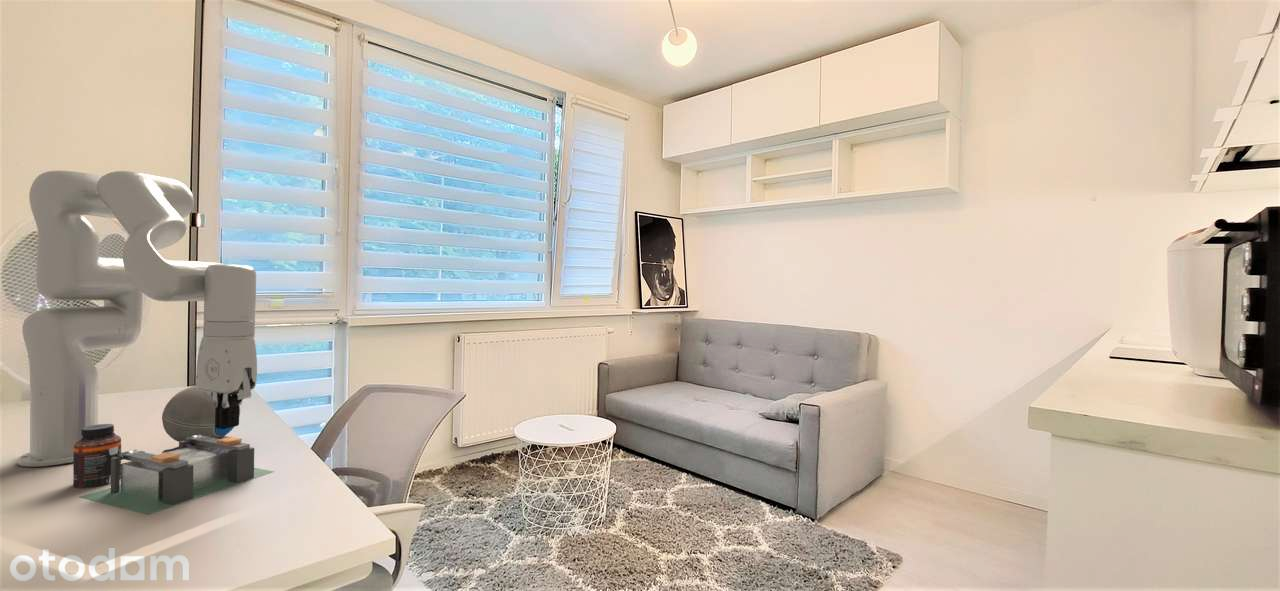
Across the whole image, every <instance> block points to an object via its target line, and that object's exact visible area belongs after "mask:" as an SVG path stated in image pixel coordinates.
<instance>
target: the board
mask: <svg viewBox="0 0 1280 591" xmlns="http://www.w3.org/2000/svg"><path fill="white" fill-rule="evenodd" d="M205 437H207V436H205ZM178 446H179V449H182V448H186V447H187V441H179V442H178ZM139 452H144V453H146V452H145V451H144V450H139ZM274 472H275V471H274V470H268V469H263V468H260V467H259V468H257V467H255V447H250V448H249V449H246V450H242V451H233V450H230V451H228V479H226V480H223V481H220V482H217V483H214V484H211V485H208V486H205V487H202V488H199V489H196V490H193V465H190V464H188V466H185V467H182V468H178V469H175V470H173V469H168V468H165V469H163V500H162V501H159V502H158V501H153V500H149V499H145V498H141V497H137V496H133V495H128V494H124V493H121V479H120V458H119V457H113V458H111V484H110V487H109V488H106V489H101V490H98V491H95V492H91V493H87V494H84V495H80V496H79V498H81V499H84V500H89V501H93V502H97V503H100V504H104V505H108V506H112V507H116V508H120V509H124V510H129V511H131V512H136V513H140V514H143V515H151V514H153V513H156V512H160V511H162V510H167V509H170V508H172V507H174V506H177V505H181V504H183V503H187V502H190V501H192V500H195V499H198V498H202V497H205V496H207V495H210V494H213V493H216V492H218V491H222V490H224V489H225V490H226V489H228V488H230V487H234V486H236V485H239V484H243V483H245V482H248V481H251V480H252V481H253V480H254V479H257V478H260V477H264V476H266V475H269V474H272V473H274Z"/></svg>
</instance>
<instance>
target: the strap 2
mask: <svg viewBox="0 0 1280 591" xmlns="http://www.w3.org/2000/svg"><path fill="white" fill-rule="evenodd" d="M185 441H187V444H188V443H193V444H199V445H205V446H210V447H216V448H221V449H227V450H233V451H242V450H246V449H249V448H250V446H251V445H250V443H245V442H242V438H241V437H240V438H239V437H233V436H227V438H223V439H217V438H211V437H205V436H201V435H200V434H199V435H194V436H190V437H186V438H185Z"/></svg>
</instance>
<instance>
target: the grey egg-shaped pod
mask: <svg viewBox="0 0 1280 591" xmlns="http://www.w3.org/2000/svg"><path fill="white" fill-rule="evenodd" d="M240 414H241V407H239V417H240ZM161 420H162V421H161V422H162V426H163V429H164V431H165V433H166V434H167V435H168V437H170V438H171V439H173V440H174V441H176V442H178V443H179V441H185V438H186V437H190V436H194V435H199V434H200V435H201V436H207V437H211V438H217V439H223V438H227V437H228V436H227V435H228V434H230V432H232V430H233V429H234V428H235V427H231V428H226V429H218V428H215V406H214V405H213V397H212V396H211V395H209V394H208V393H206V392H205V390H201V389H199V388H198V387H197V386H196V385H193V386H190V387H187V388H186V389H185V388H184V389H183V390H181V391H179V392H177V393H176V394H175V395H174V396H172V397H171V399H170V400H169V401H168V402H167V403H166V405H165V407H164V408H163V411H162V414H161ZM193 445H197V444H193V443H188V444H187V447H190V446H193ZM178 449H179V445H178V446H176V447H173V448H167V449H163V451H162V452H161V454H162V453H166V452H170V451H174V450H178Z"/></svg>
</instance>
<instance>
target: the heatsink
mask: <svg viewBox="0 0 1280 591" xmlns="http://www.w3.org/2000/svg"><path fill="white" fill-rule="evenodd" d="M228 451H230V450H227V449H221V448H216V447H210V446H205V445H199V444H197V445H193V446H190V447H186V448H182V449H178V450H174V451H170V452H166V453H173V454H178V455H180V460H185V461H188V464H190V465H193V490H196V489H199V488H202V487H205V486H208V485H211V484H214V483H217V482H220V481H223V480H226V479H228ZM160 454H164V453H162V452H161V453H157V455H160ZM163 469H165V468H163V467H158V466H154V465H149V464H144V463H139V462H134V461H127V462H123V463H122V462H121V479H120V485H121V493H124V494H128V495H133V496H137V497H141V498H145V499H149V500H153V501H158V502H159V501H162V500H163Z"/></svg>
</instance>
